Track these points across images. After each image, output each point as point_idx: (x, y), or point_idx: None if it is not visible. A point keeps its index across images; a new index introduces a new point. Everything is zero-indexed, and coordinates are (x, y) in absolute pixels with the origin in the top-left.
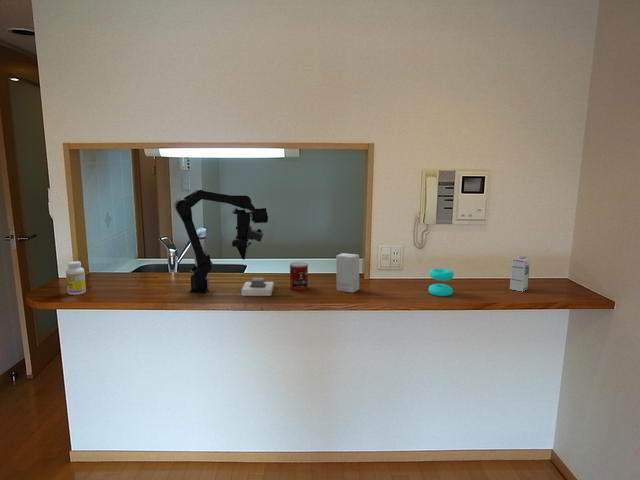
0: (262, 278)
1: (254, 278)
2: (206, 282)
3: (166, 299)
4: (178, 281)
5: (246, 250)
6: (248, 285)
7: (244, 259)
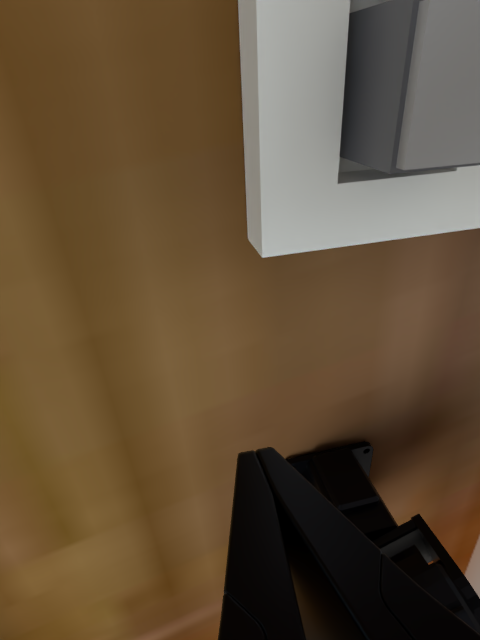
0: (471, 18)
1: (449, 142)
2: (372, 487)
3: (450, 518)
4: (160, 619)
5: (363, 612)
6: (392, 197)
7: (267, 449)
